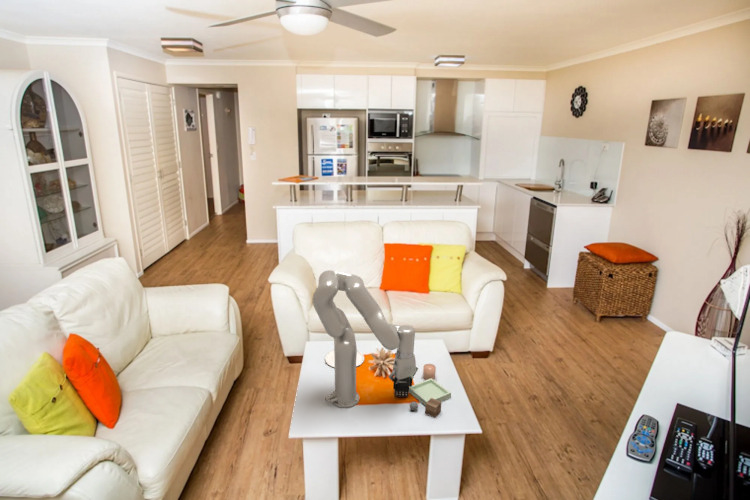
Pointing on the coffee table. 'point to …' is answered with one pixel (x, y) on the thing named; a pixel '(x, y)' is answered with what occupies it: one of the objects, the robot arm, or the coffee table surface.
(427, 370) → the beige round piece
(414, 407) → the ball
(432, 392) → the tray
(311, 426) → the coffee table surface
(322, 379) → the coffee table surface
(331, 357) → the plate
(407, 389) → the battery
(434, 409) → the block
